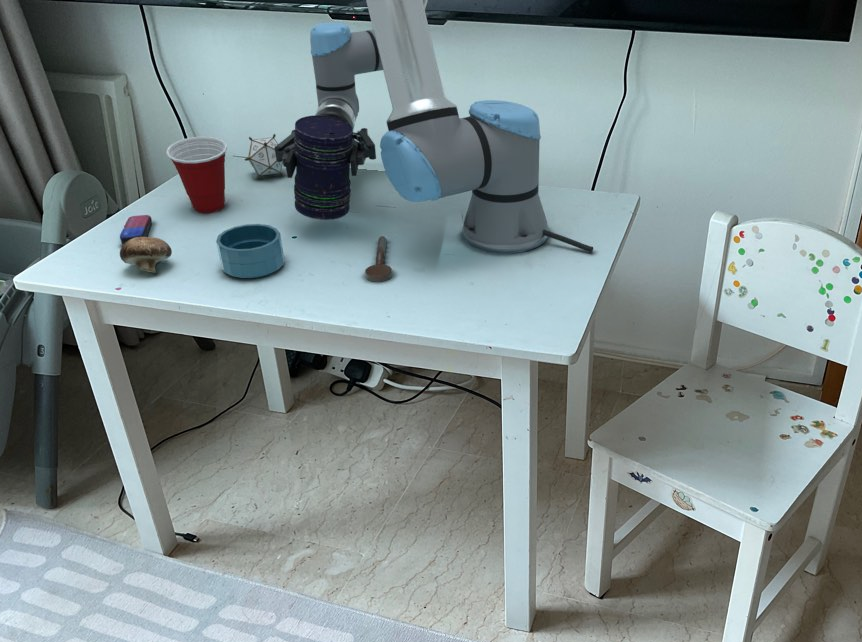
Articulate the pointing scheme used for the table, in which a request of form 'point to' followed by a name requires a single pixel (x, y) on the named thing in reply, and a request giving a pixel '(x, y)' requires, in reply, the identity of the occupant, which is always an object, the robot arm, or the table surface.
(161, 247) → the mushroom
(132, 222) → the eraser
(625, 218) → the table surface
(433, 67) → the robot arm
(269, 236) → the bowl
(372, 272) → the spoon
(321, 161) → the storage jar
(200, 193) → the plastic cup
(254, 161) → the game die
